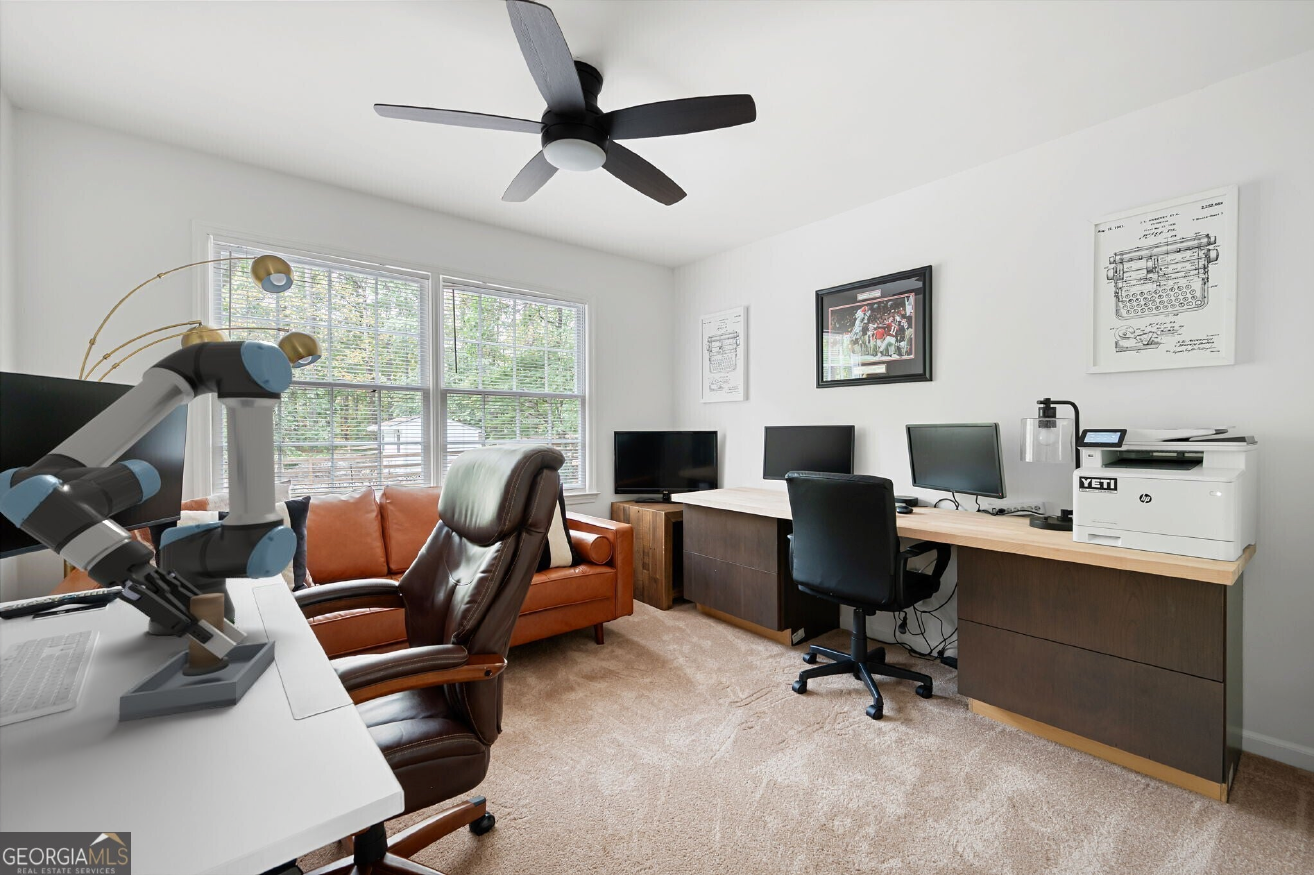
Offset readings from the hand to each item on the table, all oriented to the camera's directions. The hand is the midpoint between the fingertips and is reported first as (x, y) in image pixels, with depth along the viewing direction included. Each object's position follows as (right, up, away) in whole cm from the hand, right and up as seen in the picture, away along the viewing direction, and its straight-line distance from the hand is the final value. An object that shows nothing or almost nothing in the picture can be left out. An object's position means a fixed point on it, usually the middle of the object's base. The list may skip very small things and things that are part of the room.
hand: (234, 646), depth 92 cm
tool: (-4, -3, -2) cm, 5 cm away
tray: (-3, -6, -1) cm, 7 cm away
